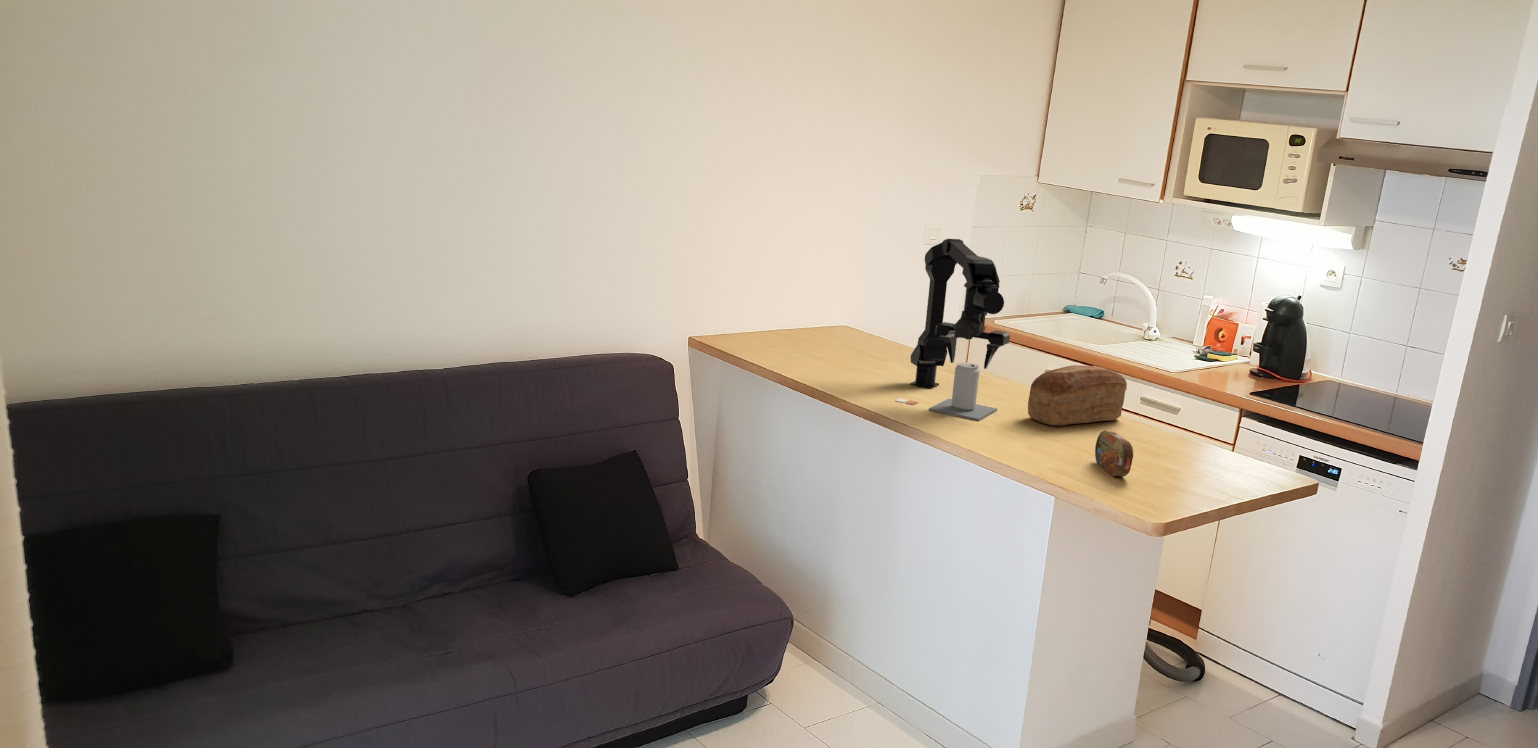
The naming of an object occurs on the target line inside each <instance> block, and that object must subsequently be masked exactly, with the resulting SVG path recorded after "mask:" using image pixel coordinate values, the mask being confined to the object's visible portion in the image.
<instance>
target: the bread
mask: <svg viewBox="0 0 1538 748" xmlns="http://www.w3.org/2000/svg"><path fill="white" fill-rule="evenodd" d="M1127 385H1128V383H1127V380H1126V379H1125V378H1124V377H1123V375H1121V374H1119V373H1118V372H1115V371H1113V370H1111V369H1109V368H1106V367H1103V366H1094V365H1078V364H1075V365H1068V366H1064V367H1059V368H1056V369H1055V368H1054V369H1051V370H1048V371H1045V372H1043V373H1041V374H1040V375H1039V376H1037V377H1036V378H1035V379H1034V380H1033V381H1032V383H1031V384H1030V389H1029V396H1028V402H1027V415H1028V416H1029V417H1030V418H1031V419H1032V420H1035V421H1037V422H1039V423H1042V424H1045V425H1050V426H1059V427H1060V426H1067V425H1073V424H1074V425H1075V424H1086V423H1087V424H1088V423H1094V422H1102V421H1103V422H1104V421H1105V422H1106V421H1115V420H1118V419H1119V418H1120V417H1122V410H1123V406H1124V401H1125V394H1126V391H1127Z"/></svg>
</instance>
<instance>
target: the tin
mask: <svg viewBox="0 0 1538 748" xmlns="http://www.w3.org/2000/svg"><path fill="white" fill-rule="evenodd" d="M1094 456H1095V461H1096V464H1097V466H1099V467H1100V468H1101V469H1103V470H1104V471H1105V472H1106V473H1108V474H1109V475H1110V476H1111V477H1122V478H1123V477H1126V476H1127V475H1128V474H1130V472H1131V467H1132V465H1133V464H1132V463H1133V459H1134V450H1133V446H1132V444H1131V442H1130V441H1129V440H1127V439H1126V438H1125V437H1123V436H1121V435H1120V434H1119V433H1117V432H1115V431H1109V430H1105V429H1104V430H1102V431H1101V432H1100V433H1099V434H1098V437H1097V438H1096V441H1095V448H1094Z"/></svg>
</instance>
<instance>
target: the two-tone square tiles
mask: <svg viewBox="0 0 1538 748" xmlns="http://www.w3.org/2000/svg"><path fill="white" fill-rule="evenodd" d="M894 401H895V402H897V403H901V404H902V403H903V404H904V403H905V404H907V405H911V404H912V405H913V406H916V405H918V404H919V402H920V401H916V400H915V401H914V400H910V399H906V398H902V397H899V398H897V399H895V400H894Z"/></svg>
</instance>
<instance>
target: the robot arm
mask: <svg viewBox="0 0 1538 748" xmlns="http://www.w3.org/2000/svg"><path fill="white" fill-rule="evenodd" d="M924 264H925V268H924V270H925V271H926V274H927V276H928V278H929V287H928V297H927V306H926V307H927V308H926V316H925V318H926V319H925V327H924V330H923V331H922V333H921V334H920V335H919V337H918V338H917V339H918V340H917V344H916V346H915V348H914V349H913V351H912V352H911V354H910V364H912V365H914V366H916V371H915V378H914V379H915V380H914V381H912V382H910V385H911V386H917V387H920V388H921V387H922V388H927V389H933V388H935V387H938V386H939V385H940V383H939V382H936V376H937V369H938V367H940V366H941V367H944V365H945V362H946V359H947V355H948V356H949V361H950V363H951V364H953V363H955V362H954V361H955V357H956V349H957V339H965V340H972V339H973V338H975V339H976V338H977V339H983V340H987V341H988V342H989V343H987V344H986V353H985V358H984V364H983V369H984V370H986V369H988V366H989V364H990V363H991V361H992V360H993V358H994V356H995V354H996V352H997V351H998V349H1000V347H1004V346H1006V345H1007V344H1010V339H1011V336H1010V333H1009V332H1008V331H1001V330H996V329H995V330H993V331H991V332H988V331H986V326H985V324H986V316H987V315H988V314H989V315H997V314H999V313H1000V312H1001V311H1002V310H1003V309H1004V306H1005V298H1004V297H1003V295H1002V293H1000V292H999V288H1000V278H999V274H998V272H997V267H996V264H995V262H994V260H993V259H990V258H987V257H984V256H979V255H978V254H976V253H975V252H974V251H972V250H971V249H970V248H969V247H968V246H967V245H966V244H965V243H964V240H963V239H961V238H945V239H943V241H942V242H940V243H937V244H936V245H932V246H930V248H929V249H928V251H927V252H926V253H925V255H924ZM957 264H958V265H959V266H960V267H961V268H962V272H961V273H962V275H963V277H964V279H965V281H966V282H965V283H964V284H963V287H964V288H965V297H964V304H963V310H962V311H961V315H960V318H959V319H958V320H957V321H956V322H955V323H954V322H953V323H951V322H947V321H944V315H945V304H946V296H947V286H948V281H949V280H950V278H952V276H953V274H954V273H955V268H956V265H957Z"/></svg>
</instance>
